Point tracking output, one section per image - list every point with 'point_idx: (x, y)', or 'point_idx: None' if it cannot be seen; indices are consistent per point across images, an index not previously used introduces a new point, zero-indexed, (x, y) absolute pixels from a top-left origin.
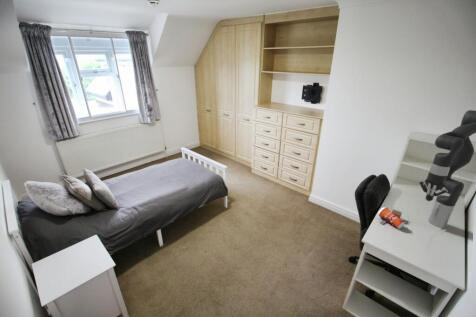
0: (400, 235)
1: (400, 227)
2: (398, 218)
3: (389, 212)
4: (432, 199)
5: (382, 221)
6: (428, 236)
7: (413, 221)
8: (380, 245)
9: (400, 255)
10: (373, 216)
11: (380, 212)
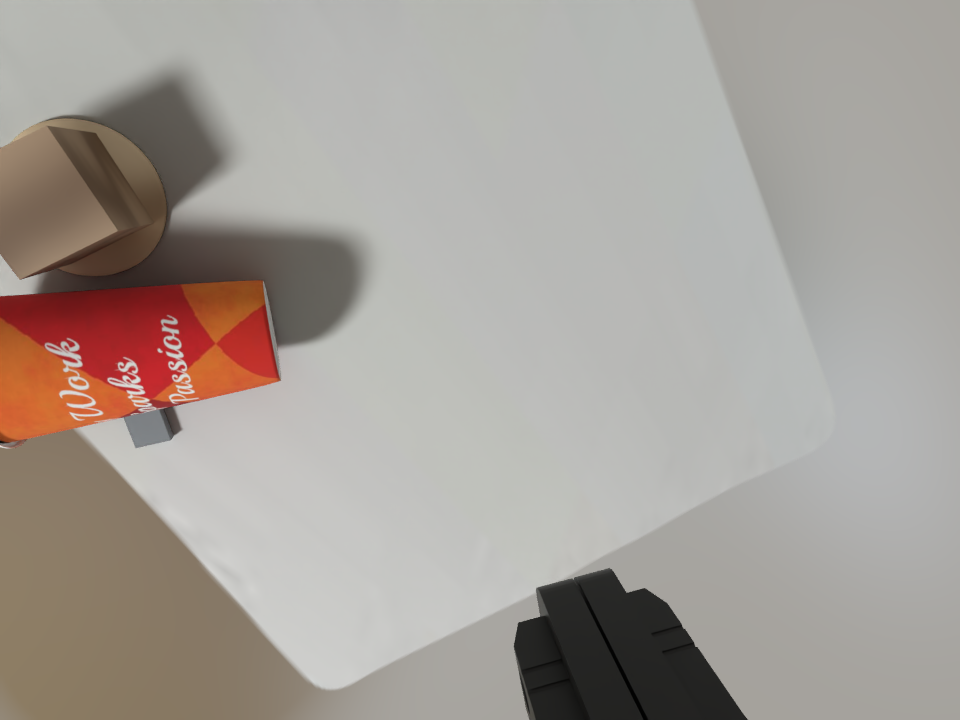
0: (364, 401)
1: (266, 307)
2: (203, 353)
3: (69, 391)
4: (672, 623)
5: None
6: (453, 136)
7: (182, 4)
8: (419, 647)
9: None
10: None
11: (16, 440)
